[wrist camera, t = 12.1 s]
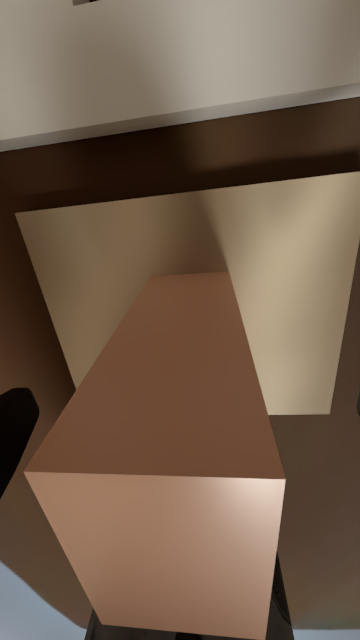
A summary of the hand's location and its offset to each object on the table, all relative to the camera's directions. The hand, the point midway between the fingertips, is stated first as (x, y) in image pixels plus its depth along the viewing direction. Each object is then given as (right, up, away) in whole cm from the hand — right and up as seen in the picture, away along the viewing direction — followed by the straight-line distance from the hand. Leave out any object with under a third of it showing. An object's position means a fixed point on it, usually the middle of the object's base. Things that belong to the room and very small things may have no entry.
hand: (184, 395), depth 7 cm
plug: (0, +2, +4) cm, 4 cm away
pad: (0, +2, +4) cm, 5 cm away
